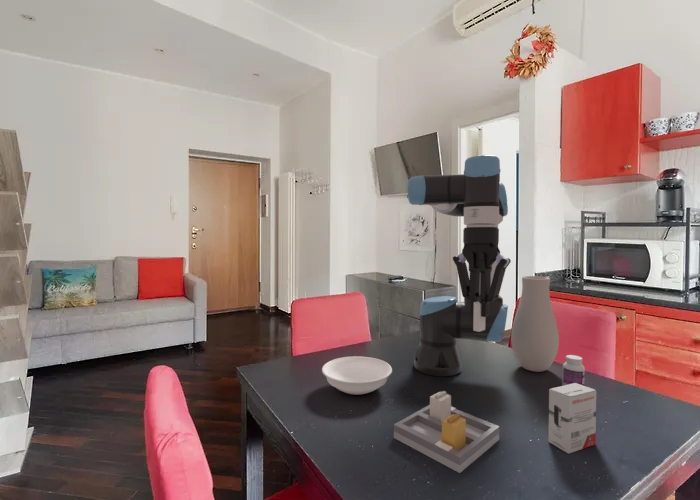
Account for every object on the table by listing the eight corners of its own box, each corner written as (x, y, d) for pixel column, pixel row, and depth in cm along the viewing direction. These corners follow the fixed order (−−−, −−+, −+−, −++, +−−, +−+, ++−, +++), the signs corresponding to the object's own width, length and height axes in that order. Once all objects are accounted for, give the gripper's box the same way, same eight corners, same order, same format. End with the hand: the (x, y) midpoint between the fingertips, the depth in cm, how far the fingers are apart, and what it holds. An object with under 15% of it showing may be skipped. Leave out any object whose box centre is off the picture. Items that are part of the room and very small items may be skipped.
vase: (548, 362, 125) (551, 275, 124) (565, 378, 112) (567, 280, 110) (506, 360, 128) (507, 274, 126) (517, 375, 114) (519, 279, 113)
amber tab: (441, 446, 74) (441, 417, 73) (452, 439, 76) (452, 411, 76) (454, 453, 72) (455, 423, 71) (465, 445, 74) (465, 416, 74)
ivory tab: (429, 419, 84) (429, 394, 84) (439, 413, 87) (439, 389, 87) (440, 424, 82) (441, 398, 82) (450, 418, 85) (451, 393, 85)
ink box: (574, 433, 82) (575, 381, 81) (596, 445, 77) (598, 390, 76) (546, 441, 78) (548, 387, 78) (568, 454, 74) (569, 397, 73)
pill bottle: (587, 395, 100) (588, 361, 100) (566, 394, 101) (567, 359, 101) (579, 387, 105) (580, 354, 105) (559, 386, 106) (560, 353, 106)
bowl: (406, 389, 105) (406, 367, 104) (360, 414, 90) (360, 389, 90) (354, 371, 118) (354, 351, 118) (307, 390, 104) (307, 368, 103)
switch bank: (393, 437, 80) (393, 423, 80) (435, 413, 91) (436, 400, 91) (459, 473, 68) (459, 456, 68) (499, 439, 79) (499, 425, 79)
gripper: (446, 226, 85) (445, 327, 86) (501, 225, 75) (499, 339, 76) (463, 226, 90) (462, 322, 91) (517, 226, 80) (515, 332, 81)
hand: (479, 329), depth 84 cm, fingers closed
